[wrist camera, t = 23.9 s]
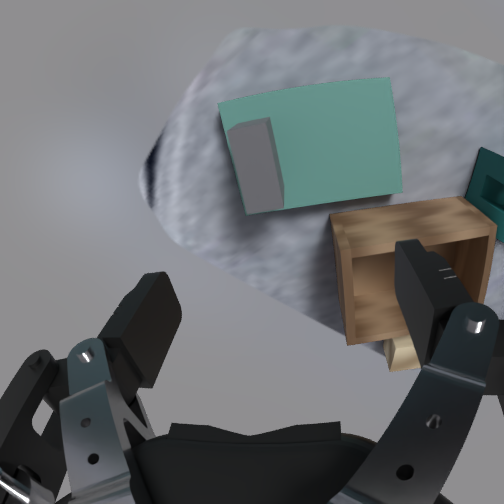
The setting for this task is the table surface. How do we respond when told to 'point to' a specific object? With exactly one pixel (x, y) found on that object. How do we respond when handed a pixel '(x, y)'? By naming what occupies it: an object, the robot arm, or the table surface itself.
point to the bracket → (489, 188)
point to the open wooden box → (383, 258)
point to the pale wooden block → (400, 353)
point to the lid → (314, 144)
